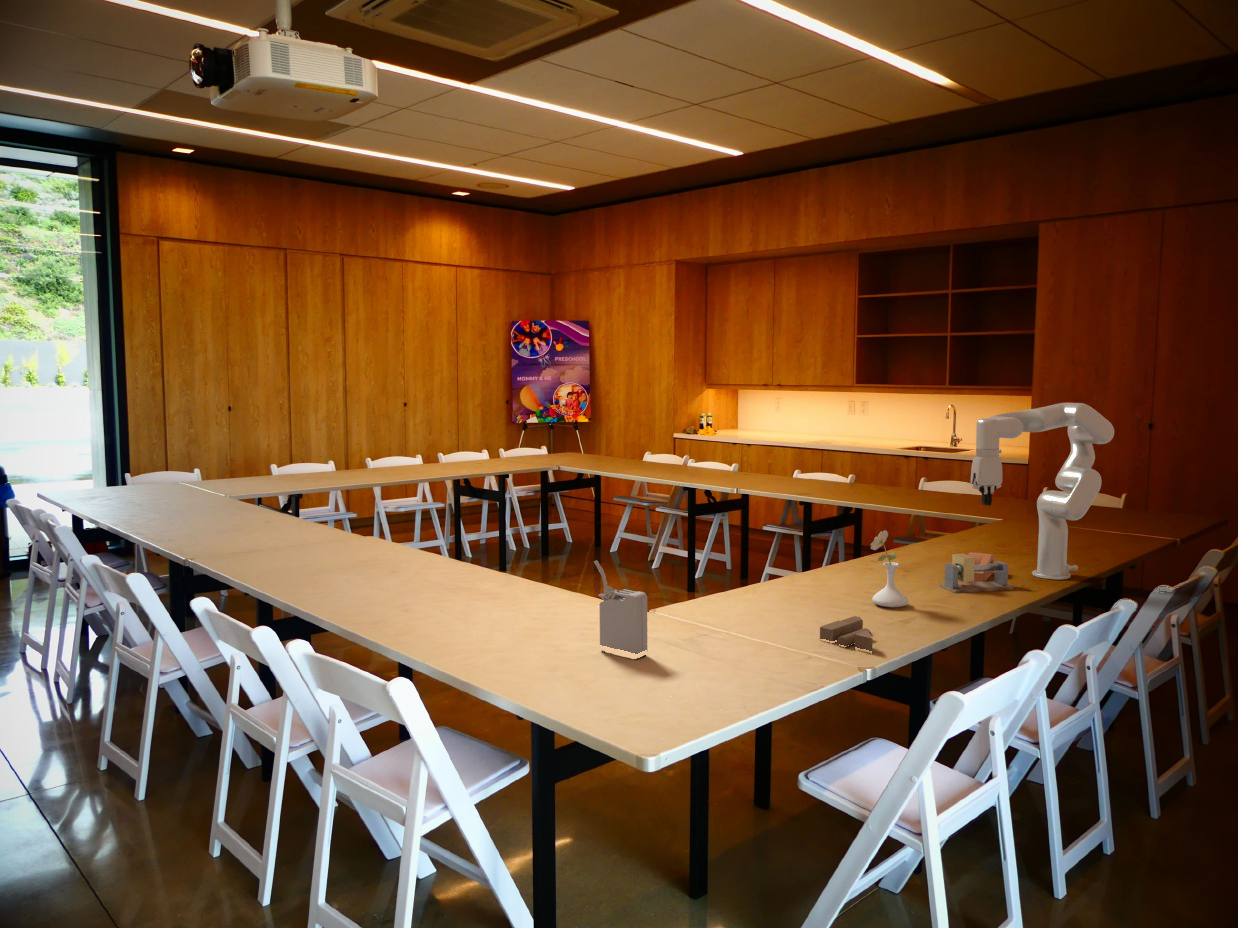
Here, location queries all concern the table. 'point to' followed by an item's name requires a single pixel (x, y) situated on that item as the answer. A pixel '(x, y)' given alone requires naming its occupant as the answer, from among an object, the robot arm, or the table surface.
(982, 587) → the base board
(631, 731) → the table surface
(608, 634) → the jerry can
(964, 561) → the collar
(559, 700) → the table surface
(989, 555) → the crank
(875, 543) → the flower in vase
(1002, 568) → the pipe rail
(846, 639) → the wooden block set
